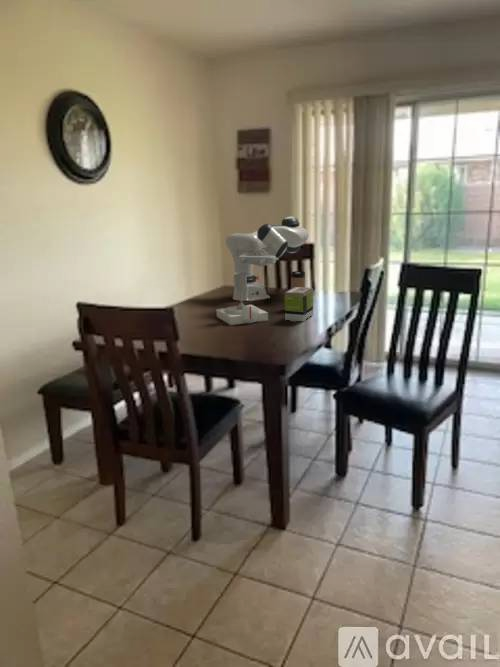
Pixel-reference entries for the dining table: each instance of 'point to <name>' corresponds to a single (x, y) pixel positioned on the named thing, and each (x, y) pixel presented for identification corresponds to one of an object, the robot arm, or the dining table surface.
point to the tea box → (298, 304)
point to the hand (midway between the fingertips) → (251, 261)
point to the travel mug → (297, 279)
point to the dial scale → (242, 315)
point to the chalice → (240, 286)
